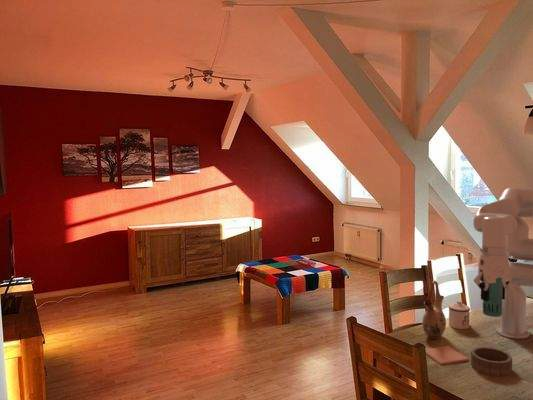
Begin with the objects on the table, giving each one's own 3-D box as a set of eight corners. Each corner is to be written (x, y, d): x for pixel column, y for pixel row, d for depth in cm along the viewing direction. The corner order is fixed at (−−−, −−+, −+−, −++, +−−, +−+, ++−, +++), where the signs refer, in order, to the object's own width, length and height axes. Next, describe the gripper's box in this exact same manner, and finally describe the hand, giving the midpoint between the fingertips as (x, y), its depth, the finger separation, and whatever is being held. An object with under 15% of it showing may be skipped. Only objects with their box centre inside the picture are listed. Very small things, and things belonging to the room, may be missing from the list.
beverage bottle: (495, 314, 161) (496, 261, 159) (506, 320, 154) (508, 266, 152) (478, 315, 160) (479, 262, 158) (489, 321, 154) (490, 266, 152)
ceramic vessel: (437, 346, 178) (437, 286, 176) (415, 340, 184) (416, 283, 182) (451, 334, 190) (452, 278, 188) (430, 329, 196) (431, 275, 194)
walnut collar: (492, 357, 166) (493, 345, 166) (519, 373, 154) (520, 360, 153) (463, 362, 163) (463, 349, 163) (488, 378, 151) (489, 364, 150)
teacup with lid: (465, 331, 193) (466, 305, 192) (445, 326, 199) (445, 301, 198) (474, 323, 201) (475, 299, 200) (454, 319, 208) (455, 295, 207)
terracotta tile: (448, 347, 176) (448, 346, 176) (468, 360, 164) (468, 358, 164) (422, 351, 173) (422, 349, 173) (440, 364, 162) (440, 362, 161)
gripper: (480, 254, 149) (479, 305, 151) (522, 250, 153) (520, 300, 155) (465, 250, 157) (465, 298, 158) (505, 247, 161) (504, 294, 162)
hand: (492, 298), depth 157 cm, fingers closed on beverage bottle, 6 cm apart
